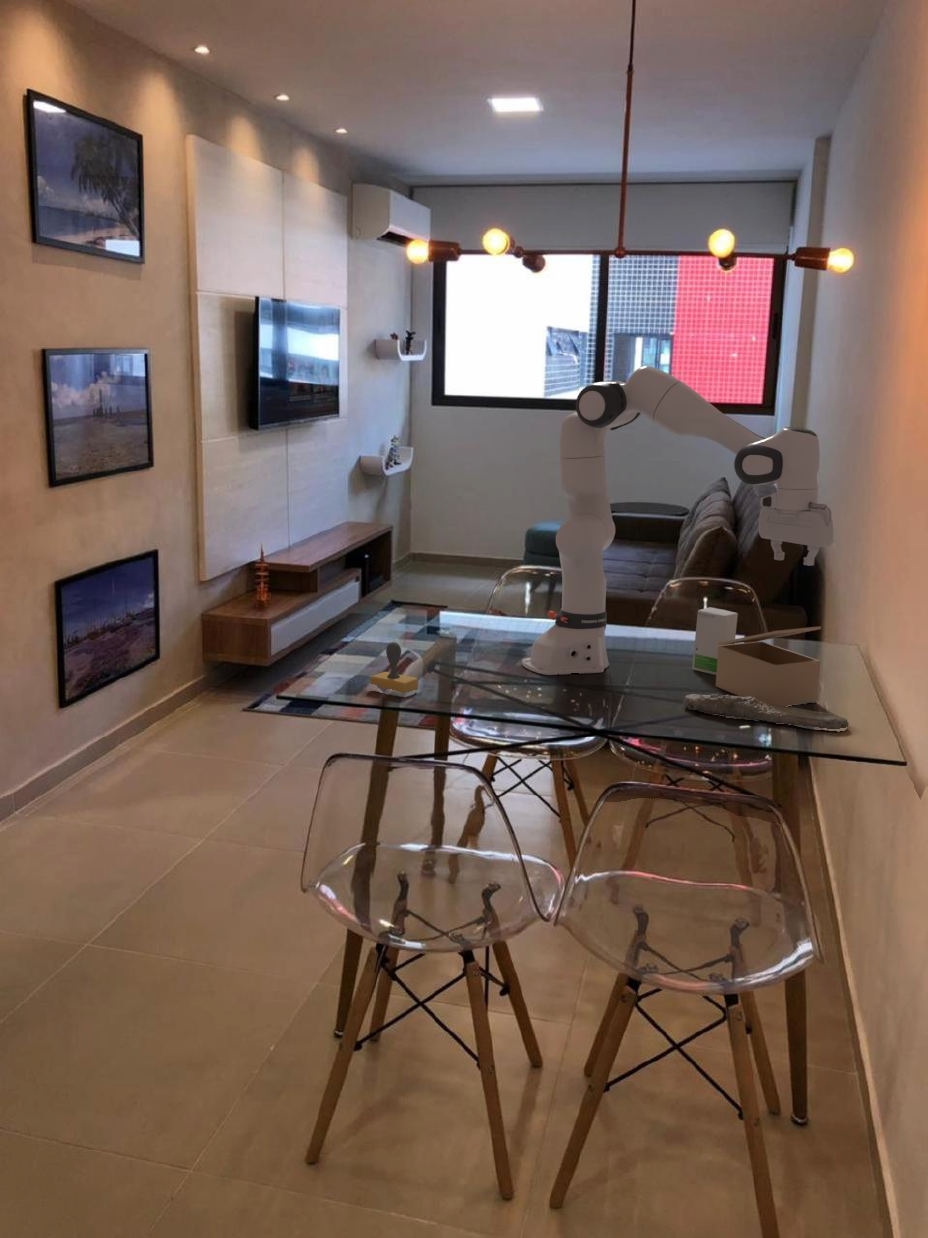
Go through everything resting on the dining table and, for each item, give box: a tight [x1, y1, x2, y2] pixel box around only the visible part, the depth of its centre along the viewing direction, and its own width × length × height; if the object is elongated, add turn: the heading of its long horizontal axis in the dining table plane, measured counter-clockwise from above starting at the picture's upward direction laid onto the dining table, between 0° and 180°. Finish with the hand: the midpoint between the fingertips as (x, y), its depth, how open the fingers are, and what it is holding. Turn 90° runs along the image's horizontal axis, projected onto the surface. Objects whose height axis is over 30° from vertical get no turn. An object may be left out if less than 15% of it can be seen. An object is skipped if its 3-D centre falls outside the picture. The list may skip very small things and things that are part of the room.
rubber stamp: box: [369, 641, 419, 693], centre depth 246 cm, size 10×6×12 cm, turn 56°
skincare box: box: [691, 606, 739, 676], centre depth 269 cm, size 8×7×16 cm
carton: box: [715, 640, 821, 706], centre depth 250 cm, size 13×20×10 cm, turn 25°
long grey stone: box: [682, 693, 849, 729], centre depth 232 cm, size 35×5×10 cm
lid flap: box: [718, 626, 822, 645], centre depth 248 cm, size 13×20×1 cm, turn 25°
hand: (793, 562), depth 241 cm, fingers open, 8 cm apart
